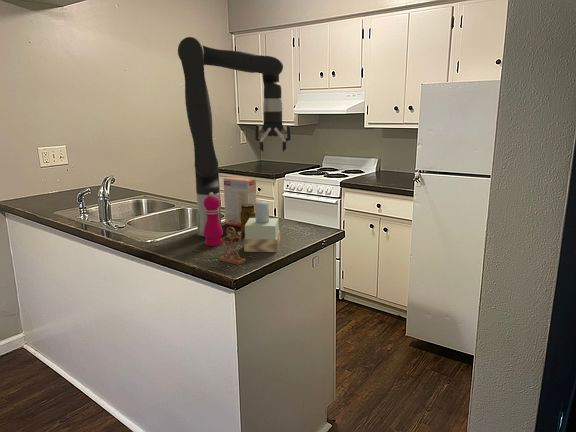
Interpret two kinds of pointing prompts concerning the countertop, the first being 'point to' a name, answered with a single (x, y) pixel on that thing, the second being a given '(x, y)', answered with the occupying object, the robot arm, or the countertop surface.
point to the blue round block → (262, 212)
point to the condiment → (246, 216)
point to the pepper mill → (212, 221)
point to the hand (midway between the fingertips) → (273, 151)
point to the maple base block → (262, 244)
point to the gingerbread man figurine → (227, 256)
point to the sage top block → (261, 229)
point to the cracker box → (238, 197)
